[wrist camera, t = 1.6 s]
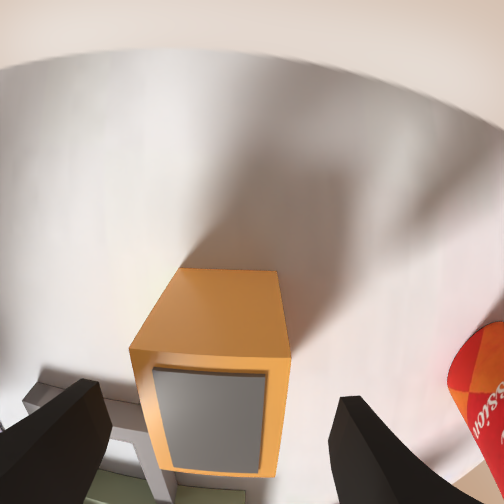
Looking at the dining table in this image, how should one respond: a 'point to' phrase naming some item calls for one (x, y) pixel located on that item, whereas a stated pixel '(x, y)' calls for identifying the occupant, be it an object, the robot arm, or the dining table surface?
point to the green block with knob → (157, 480)
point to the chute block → (215, 372)
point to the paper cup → (482, 393)
